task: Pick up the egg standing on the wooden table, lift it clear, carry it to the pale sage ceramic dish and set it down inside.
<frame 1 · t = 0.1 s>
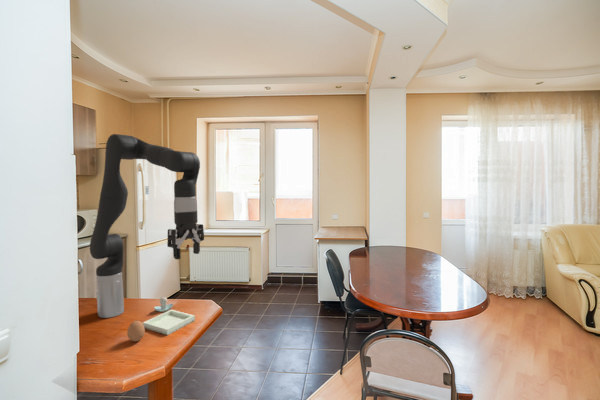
hand: (187, 256, 110), 29 cm above the table, fingers open, 8 cm apart
pacifier: (163, 310, 135), on the table
dish: (169, 323, 122), on the table
egg: (136, 341, 110), on the table
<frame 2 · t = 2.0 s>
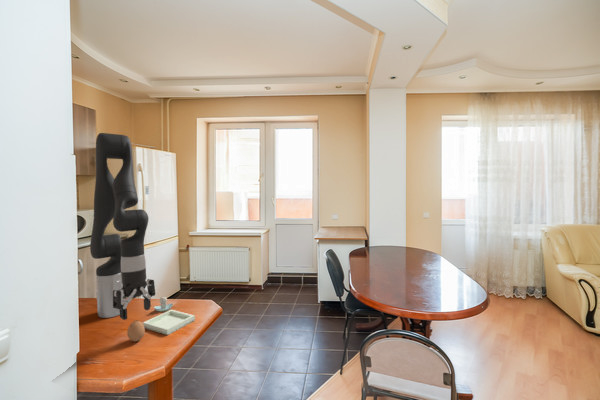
hand: (135, 314, 109), 9 cm above the table, fingers open, 8 cm apart
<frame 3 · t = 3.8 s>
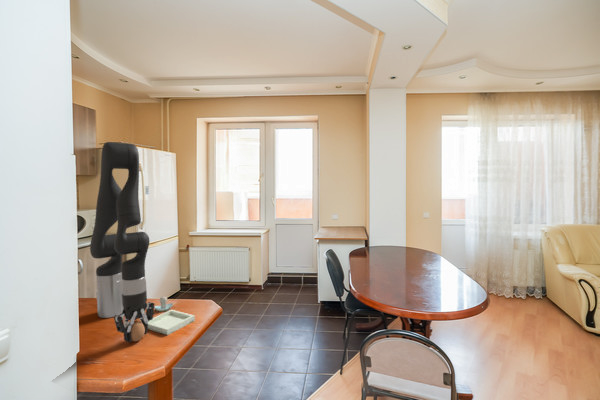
hand: (136, 337, 110), 1 cm above the table, fingers closed on egg, 5 cm apart
egg: (136, 341, 110), on the table, touching gripper
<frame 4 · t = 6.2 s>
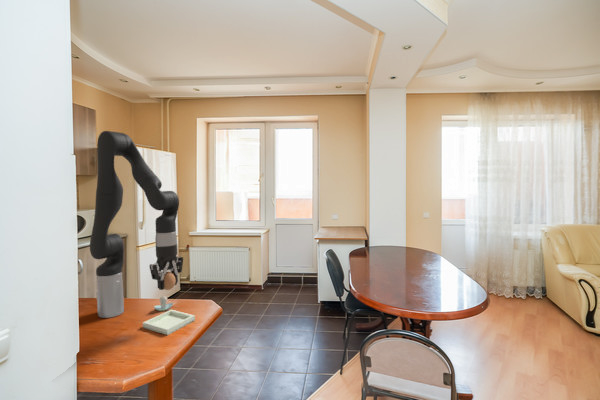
hand: (168, 286, 121), 15 cm above the table, fingers closed on egg, 5 cm apart
egg: (168, 290, 121), point 13 cm above the table, touching gripper
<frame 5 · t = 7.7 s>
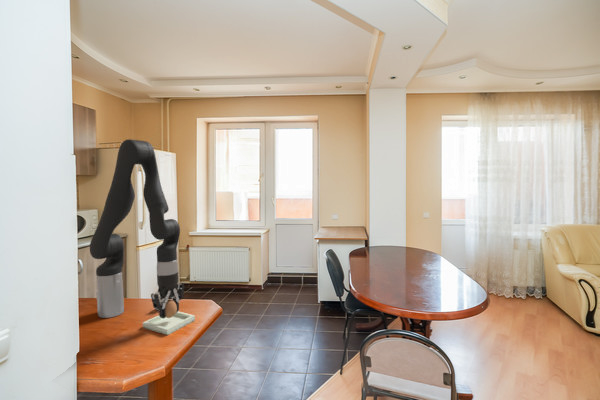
hand: (169, 314, 122), 4 cm above the table, fingers closed on egg, 5 cm apart
egg: (169, 317, 122), point 2 cm above the table, touching gripper
when the fingers open (3 cm above the table, at t = 8.7 s): egg drops 1 cm, resting on dish.
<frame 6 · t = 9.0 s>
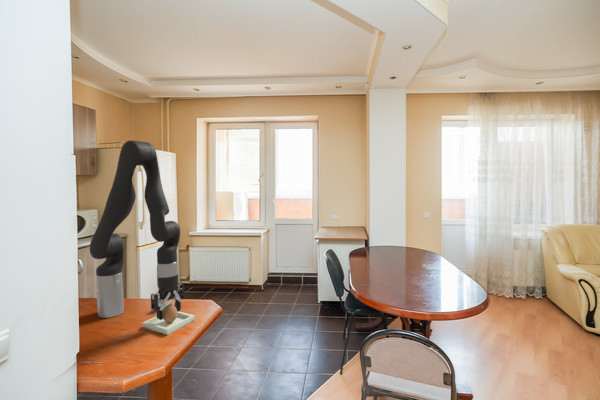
hand: (169, 315, 122), 4 cm above the table, fingers open, 7 cm apart
egg: (170, 322, 122), resting on dish
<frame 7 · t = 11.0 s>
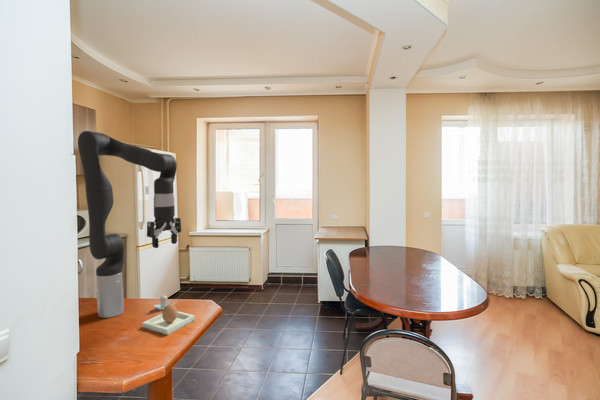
hand: (165, 245, 125), 30 cm above the table, fingers open, 8 cm apart
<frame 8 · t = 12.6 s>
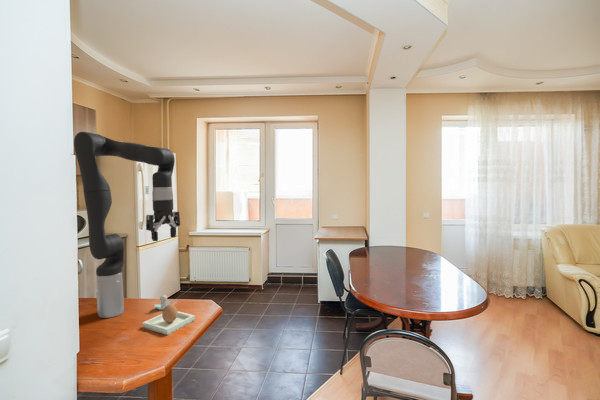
hand: (164, 239, 126), 32 cm above the table, fingers open, 8 cm apart
at the end: egg inside the target area on the dish (0.3 cm from its centre), point 0.4 cm above the dish's base; egg touching dish; the gripper is holding nothing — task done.
